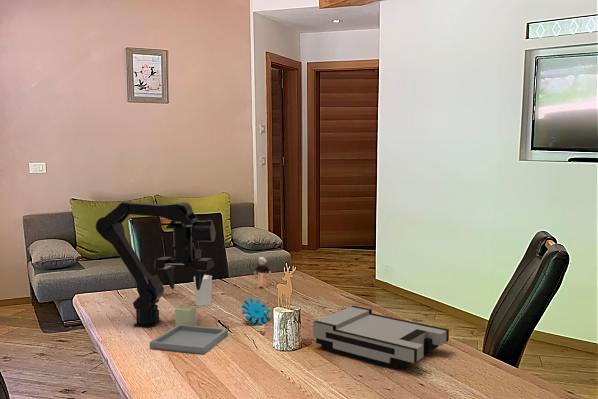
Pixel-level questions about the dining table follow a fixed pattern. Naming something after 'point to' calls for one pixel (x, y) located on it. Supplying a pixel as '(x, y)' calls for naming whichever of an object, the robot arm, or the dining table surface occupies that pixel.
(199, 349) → the tray
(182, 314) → the sage block
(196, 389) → the dining table surface
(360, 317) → the game console
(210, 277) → the drinking glass
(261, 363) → the dining table surface
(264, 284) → the grandmother figurine
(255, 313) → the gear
